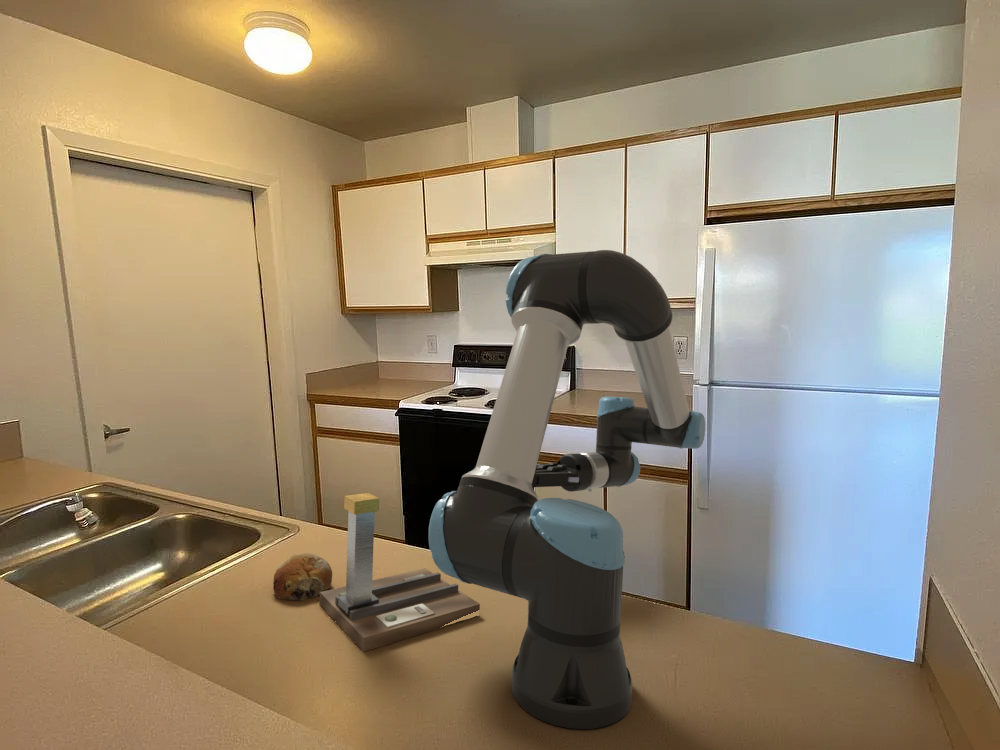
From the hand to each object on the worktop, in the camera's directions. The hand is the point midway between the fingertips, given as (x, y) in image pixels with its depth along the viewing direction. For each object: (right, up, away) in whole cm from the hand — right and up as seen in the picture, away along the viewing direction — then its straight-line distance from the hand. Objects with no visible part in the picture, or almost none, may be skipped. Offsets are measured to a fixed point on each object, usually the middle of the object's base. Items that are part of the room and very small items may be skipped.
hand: (489, 479), depth 98 cm
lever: (-20, -17, -12) cm, 30 cm away
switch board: (-15, -20, -8) cm, 26 cm away
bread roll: (-33, -20, -1) cm, 38 cm away
